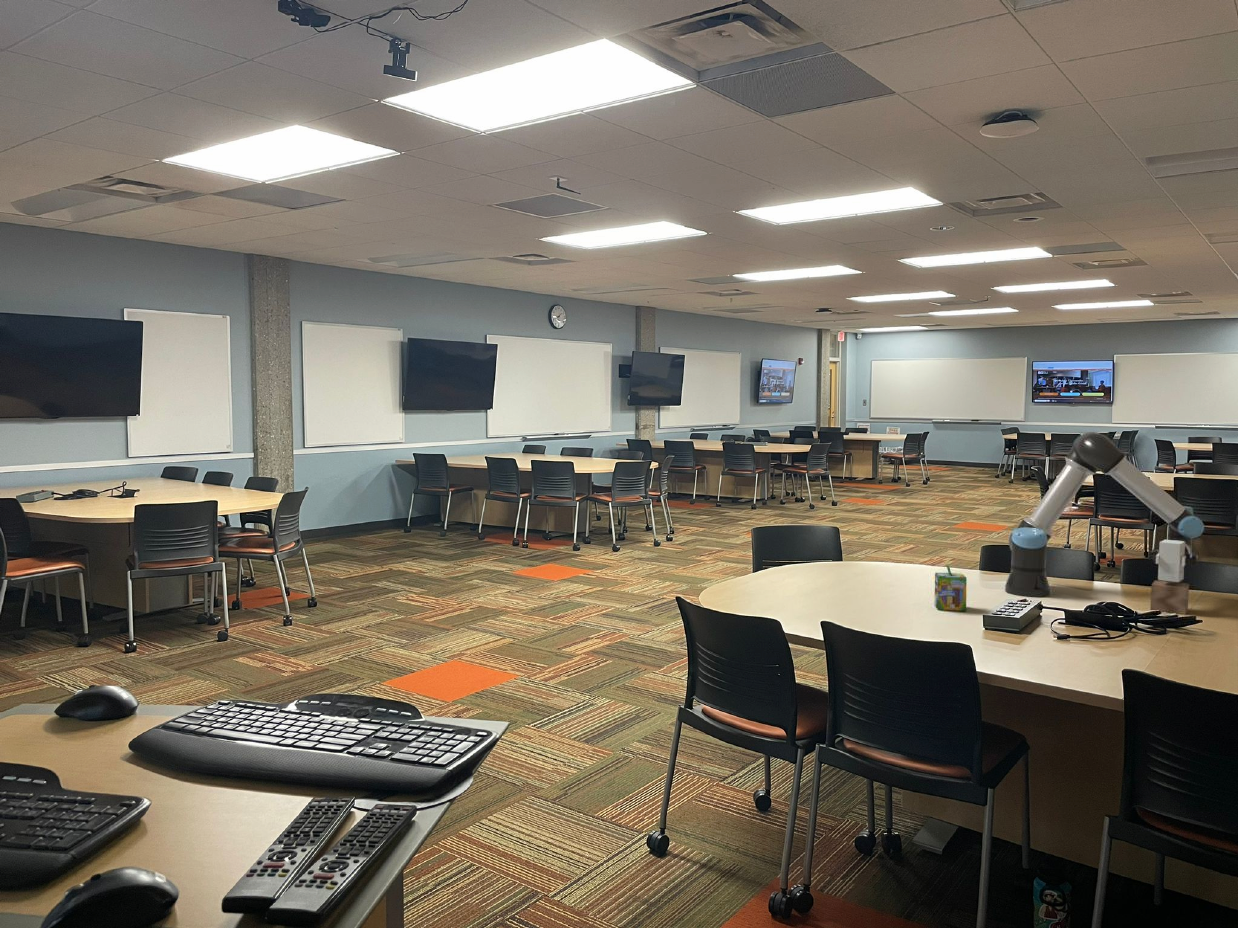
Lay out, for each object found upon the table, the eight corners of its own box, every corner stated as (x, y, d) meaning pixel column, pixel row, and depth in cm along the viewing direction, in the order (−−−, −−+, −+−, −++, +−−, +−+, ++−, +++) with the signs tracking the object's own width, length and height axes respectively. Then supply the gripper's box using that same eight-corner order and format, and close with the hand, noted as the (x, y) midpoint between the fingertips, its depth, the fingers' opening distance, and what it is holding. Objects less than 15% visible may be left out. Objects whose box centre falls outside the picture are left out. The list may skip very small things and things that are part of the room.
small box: (1162, 576, 312) (1164, 539, 311) (1183, 579, 307) (1185, 541, 307) (1157, 579, 305) (1159, 541, 305) (1179, 582, 301) (1181, 543, 300)
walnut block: (1150, 611, 306) (1151, 584, 305) (1153, 606, 314) (1154, 580, 313) (1185, 615, 300) (1186, 588, 300) (1187, 610, 308) (1188, 583, 308)
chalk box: (966, 611, 301) (967, 567, 301) (937, 610, 303) (938, 566, 302) (961, 606, 311) (963, 563, 310) (933, 604, 312) (934, 562, 311)
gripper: (1208, 566, 315) (1204, 575, 296) (1144, 560, 326) (1135, 568, 308) (1210, 544, 314) (1205, 552, 296) (1145, 539, 326) (1136, 546, 307)
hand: (1169, 560), depth 302 cm, fingers closed on small box, 7 cm apart
